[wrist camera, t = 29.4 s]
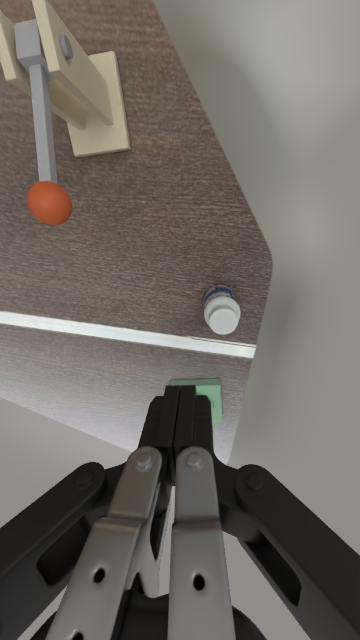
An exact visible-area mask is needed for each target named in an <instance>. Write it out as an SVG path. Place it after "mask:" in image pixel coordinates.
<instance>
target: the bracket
mask: <svg viewBox="0 0 360 640" xmlns="http://www.w3.org/2000/svg"><path fill="white" fill-rule="evenodd" d="M32 2H33V7H34V11H35V15H36V19H37V23H38V28H39V32H40V36H41V40H42V44H43V49H44V53H45V57H46V61H47V65H48V70H49V72H50V73H51V74H52V75H53V76H54V77H55V78H56V79H57V80H54V81H49V82H48V83H49V95H50V106H51V111H52V112H53V113H55V114H56V115H58V116H59V117H61V118H62V119H64V120H65V121H67V125H68V130H69V134H70V138H71V143H72V147H73V151H74V156H76V157H78V158H79V157H86V156H93V155H99V154H106V153H113V152H119V151H126V150H131V147H130V140H129V134H128V127H127V120H126V114H125V107H124V101H123V94H122V88H121V81H120V75H119V68H118V61H117V56H116V54H115V52H114V51H110V52H105V53H100V54H95V55H90V56H87V55H86V53H85V52H84V50H83V49H82V48H81V46H80V45H79V44H78V42H77V41H76V39H75V38H74V37H73V35H72V34H71V33H70V31H69V30H68V28H67V27H66V26H65V24H64V23H63V22H62V20H61V19H60V17H59V16H58V15H57V13H56V12H55V11H54V9H53V8H52V6H51V5H50V4H49V2H48V1H47V0H32ZM0 61H1V65H2V68H3V71H4V75H5V78H6V80H7V81H8V82H9V83H11V84H12V85H14V86H15V87H17V88H18V89H20V90H21V91H23V92H24V93H26V94H27V95H29V96H30V97H31V98H32V94H31V83H30V75H29V73H28V72H27V71H26V69H25V68H24V67H23V66H22V64H21V63H20V62H19V60H18V59H17V53H16V42H15V32H14V24H13V23H12V22H11V21H10V20H9V19H8V18H7V17H6V16H5V15H4V14H3V13H2V12H1V11H0Z"/></svg>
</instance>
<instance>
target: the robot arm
mask: <svg viewBox="0 0 360 640" xmlns="http://www.w3.org/2000/svg"><path fill="white" fill-rule="evenodd" d="M172 486H175V487H176V488H175V518H174V523H173V524H172V533H171V561H170V587H169V594H166V595H163V596H160V597H158V592H159V571H160V562H161V556H162V551H163V545H164V539H165V534H166V528H167V523H168V517H169V511H170V496H171V488H172ZM222 531H224V532H226V533H228V534H231V535H233V536H235V537H237V539H238V541H239V542H240V544H241V546H242V547H243V548H244V549H245V551H246V552H247V554H248V555H249V556H250V558H251V559H252V560H253V562H254V563H255V564H256V566H257V567H258V568H259V570H260V571H261V573H262V574H263V575H264V577H265V578H266V579H267V581H268V582H269V583H270V585H271V586H272V588H273V589H274V590H275V591H276V593H277V594H278V596H279V597H280V598H281V600H282V601H283V603H284V604H285V605H286V607H287V608H288V609H289V611H290V612H291V613H292V615H293V616H294V617H295V619H296V620H297V621H298V623H299V624H300V626H301V627H302V628H303V630H304V631H305V632H306V634H307V635H308V636H309V638H310V639H311V640H360V556H359V555H358V554H357V553H356V552H355V551H354V550H353V549H352V548H351V547H350V546H348V545H347V544H346V543H345V542H344V541H343V540H342V539H341V538H340V537H339V536H338V535H337V534H336V533H335V532H333V531H332V530H331V529H330V528H329V527H328V526H327V525H326V524H325V523H324V522H323V521H322V520H320V519H319V518H318V517H317V516H316V515H315V514H314V513H313V512H312V511H311V510H310V509H309V508H308V507H306V506H305V505H304V504H303V503H302V502H301V501H300V500H299V499H298V498H297V497H295V496H294V495H293V494H292V493H291V492H290V491H289V490H288V489H287V488H286V487H285V486H283V484H282V483H280V482H279V481H278V480H277V479H276V478H275V477H274V476H273V475H272V474H271V473H270V472H269V471H267V470H266V469H265V468H262V467H261V466H258V465H253V464H249V465H245V466H243V467H241V468H239V469H235V468H232V467H229V466H227V465H225V464H223V463H222V462H220V461H219V460H218V459H217V457H216V456H215V454H214V449H213V427H212V412H211V402H210V400H209V399H208V397H207V395H197V392H196V385H169V386H166V388H165V393H164V396H156V397H155V398H154V399H153V401H152V402H151V403H150V406H149V409H148V414H147V416H146V421H145V423H144V427H143V431H142V434H141V438H140V441H139V445H138V448H137V449H136V450H135V451H134V452H132V454H131V455H130V456H129V457H128V460H127V462H125V463H123V464H121V465H118V466H115V467H112V468H109V469H105V470H104V468H103V466H102V465H101V464H99V463H96V462H89V463H86V464H84V465H81V466H80V467H78V468H77V469H76V470H74V471H73V472H72V473H70V474H69V475H68V476H67V477H65V478H64V479H63V480H61V481H60V482H59V483H58V484H56V485H55V486H54V487H52V488H51V489H50V490H49V491H47V492H46V493H45V494H43V495H42V496H41V497H40V498H38V499H37V500H36V501H35V502H33V503H32V504H31V505H29V506H28V507H27V508H26V509H24V510H23V511H22V512H21V513H19V514H18V515H17V516H15V517H14V518H13V519H11V520H10V521H9V522H8V523H6V524H5V525H4V526H3V527H1V528H0V640H17V639H18V638H19V637H20V636H21V634H22V633H23V632H24V631H25V630H26V629H27V628H28V627H29V626H30V625H31V624H32V622H34V620H35V619H36V618H37V617H38V616H39V615H40V614H41V613H42V612H43V611H44V610H45V609H46V607H47V606H48V605H49V604H50V603H51V602H52V601H53V600H54V599H55V598H56V597H57V596H58V594H60V592H61V591H62V590H63V589H64V588H65V587H66V586H67V585H68V586H67V589H66V591H65V593H64V596H63V598H62V601H61V603H60V605H59V608H58V610H57V611H56V612H55V613H54V614H53V615H52V616H51V617H50V618H49V619H47V621H46V622H45V623H44V624H43V625H42V626H41V627H40V629H39V630H38V631H37V632H36V633H35V634H34V636H33V637H32V638H31V639H30V640H267V639H266V638H265V637H264V635H263V634H262V633H261V631H260V630H259V629H258V628H257V626H256V625H255V624H254V623H253V622H252V621H251V620H250V619H249V618H248V617H247V616H246V615H245V614H243V613H242V612H241V611H239V610H238V609H237V608H235V607H234V606H232V605H231V597H230V589H229V581H228V573H227V565H226V557H225V549H224V541H223V533H222Z"/></svg>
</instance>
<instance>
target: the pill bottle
mask: <svg viewBox="0 0 360 640" xmlns="http://www.w3.org/2000/svg"><path fill="white" fill-rule="evenodd" d="M204 317H205V320H206V322H207V324H208V325H209V326H210V327H211V329H212V330H213V331H214V332H215V333H217V334H222V335H225V334H229V333H231V332H233V331H234V330H235V329H236V327H237V325H238V321H239V319H240V307H239V305H238V303H237V300H236V298H235V295H234V293H233V292H232V290H231V289H230V288H228V287H226V286H223V285H217V286H214V287H212V288H210V289H209V290H208V291H207V292H206V294H205V297H204Z"/></svg>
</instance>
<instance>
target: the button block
mask: <svg viewBox="0 0 360 640" xmlns="http://www.w3.org/2000/svg"><path fill="white" fill-rule="evenodd" d="M170 385H196V392H197V395H207V397H208V399H209V400H210V402H211V412H212V424H222V404H221V384H220V378H216V379H185V380H171V382H170Z"/></svg>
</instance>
